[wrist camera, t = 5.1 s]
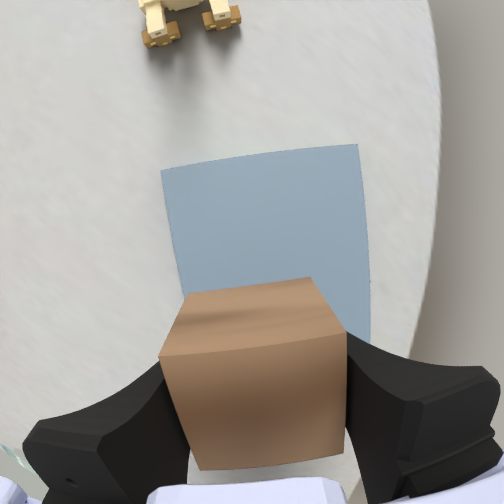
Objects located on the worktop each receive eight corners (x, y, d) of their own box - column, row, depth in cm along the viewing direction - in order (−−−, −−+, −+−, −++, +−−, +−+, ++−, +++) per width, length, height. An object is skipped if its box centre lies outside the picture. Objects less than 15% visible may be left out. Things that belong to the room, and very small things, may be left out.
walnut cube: (317, 377, 14) (343, 453, 9) (211, 390, 14) (199, 470, 9) (310, 276, 13) (346, 332, 8) (187, 293, 13) (157, 356, 8)
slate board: (365, 357, 20) (369, 363, 19) (208, 382, 20) (207, 388, 20) (353, 145, 17) (357, 143, 16) (164, 170, 17) (160, 170, 16)
